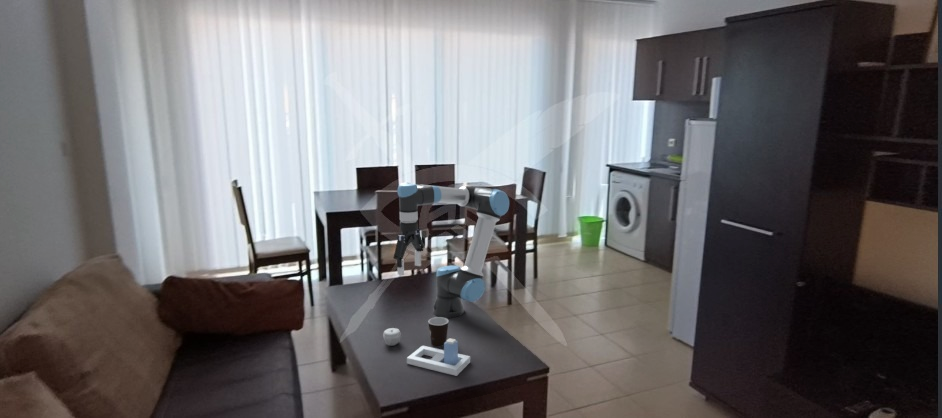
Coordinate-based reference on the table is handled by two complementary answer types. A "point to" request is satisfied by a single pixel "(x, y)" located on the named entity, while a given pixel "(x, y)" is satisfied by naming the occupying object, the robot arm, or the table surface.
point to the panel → (437, 360)
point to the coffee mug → (438, 330)
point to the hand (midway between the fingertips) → (409, 270)
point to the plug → (451, 352)
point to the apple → (392, 336)
